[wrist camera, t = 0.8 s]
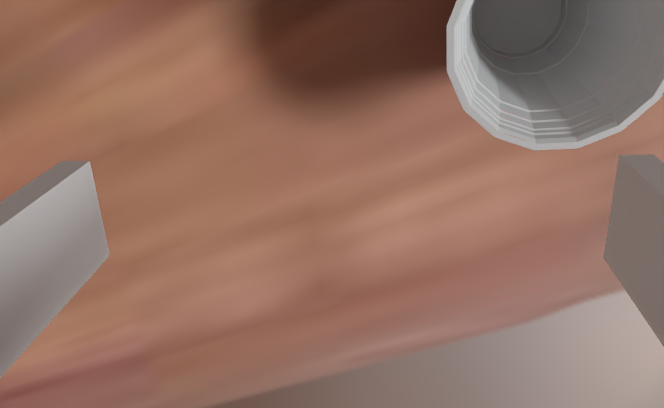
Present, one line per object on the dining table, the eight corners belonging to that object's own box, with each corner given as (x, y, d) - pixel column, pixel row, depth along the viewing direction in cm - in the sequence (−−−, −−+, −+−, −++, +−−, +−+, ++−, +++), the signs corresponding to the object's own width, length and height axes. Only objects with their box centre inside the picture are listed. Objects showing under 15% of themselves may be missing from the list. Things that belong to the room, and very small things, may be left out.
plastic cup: (416, 87, 41) (426, 140, 30) (446, -91, 36) (471, -106, 25) (579, 109, 40) (650, 171, 29) (629, -69, 36) (735, -75, 25)
